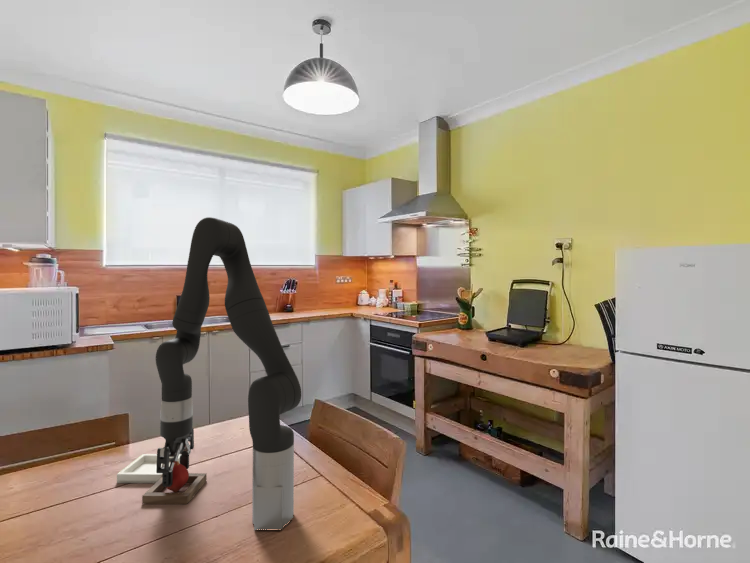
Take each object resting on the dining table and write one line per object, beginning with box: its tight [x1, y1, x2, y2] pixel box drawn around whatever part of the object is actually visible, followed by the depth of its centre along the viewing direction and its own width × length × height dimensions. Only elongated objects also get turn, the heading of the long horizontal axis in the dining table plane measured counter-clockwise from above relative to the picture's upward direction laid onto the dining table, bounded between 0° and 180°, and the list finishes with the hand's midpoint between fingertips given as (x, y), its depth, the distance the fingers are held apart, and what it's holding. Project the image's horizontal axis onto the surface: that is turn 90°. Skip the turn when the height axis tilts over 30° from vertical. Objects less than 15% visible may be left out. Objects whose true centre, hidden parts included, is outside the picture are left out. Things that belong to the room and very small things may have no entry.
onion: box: [165, 461, 190, 493], centre depth 101 cm, size 6×6×8 cm
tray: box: [116, 453, 181, 484], centre depth 111 cm, size 12×12×2 cm
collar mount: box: [141, 472, 208, 505], centre depth 101 cm, size 11×11×2 cm
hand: (176, 477), depth 101 cm, fingers open, 8 cm apart
